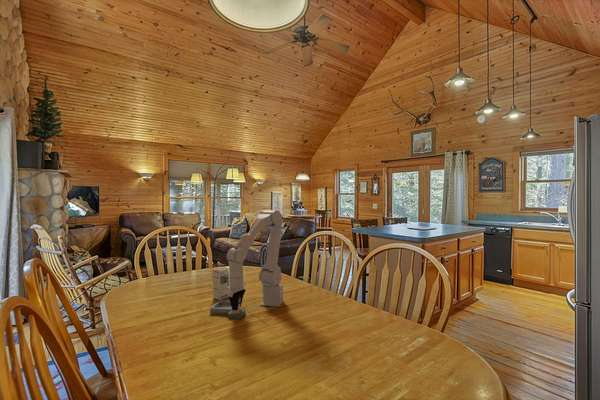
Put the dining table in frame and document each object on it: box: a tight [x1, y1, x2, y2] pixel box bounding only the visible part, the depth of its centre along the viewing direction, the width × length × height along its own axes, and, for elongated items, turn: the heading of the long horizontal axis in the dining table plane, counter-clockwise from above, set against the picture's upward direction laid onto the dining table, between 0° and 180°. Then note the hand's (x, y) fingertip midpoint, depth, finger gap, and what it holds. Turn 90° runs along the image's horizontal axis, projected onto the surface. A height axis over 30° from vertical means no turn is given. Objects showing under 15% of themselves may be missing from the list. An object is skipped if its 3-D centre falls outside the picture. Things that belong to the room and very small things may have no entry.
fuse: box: [233, 299, 241, 313], centre depth 130 cm, size 3×3×7 cm
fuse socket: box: [227, 308, 246, 320], centre depth 130 cm, size 6×6×2 cm
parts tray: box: [209, 299, 232, 316], centre depth 137 cm, size 10×10×2 cm
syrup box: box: [212, 267, 230, 301], centre depth 154 cm, size 6×6×14 cm
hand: (236, 308), depth 130 cm, fingers closed on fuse, 3 cm apart
